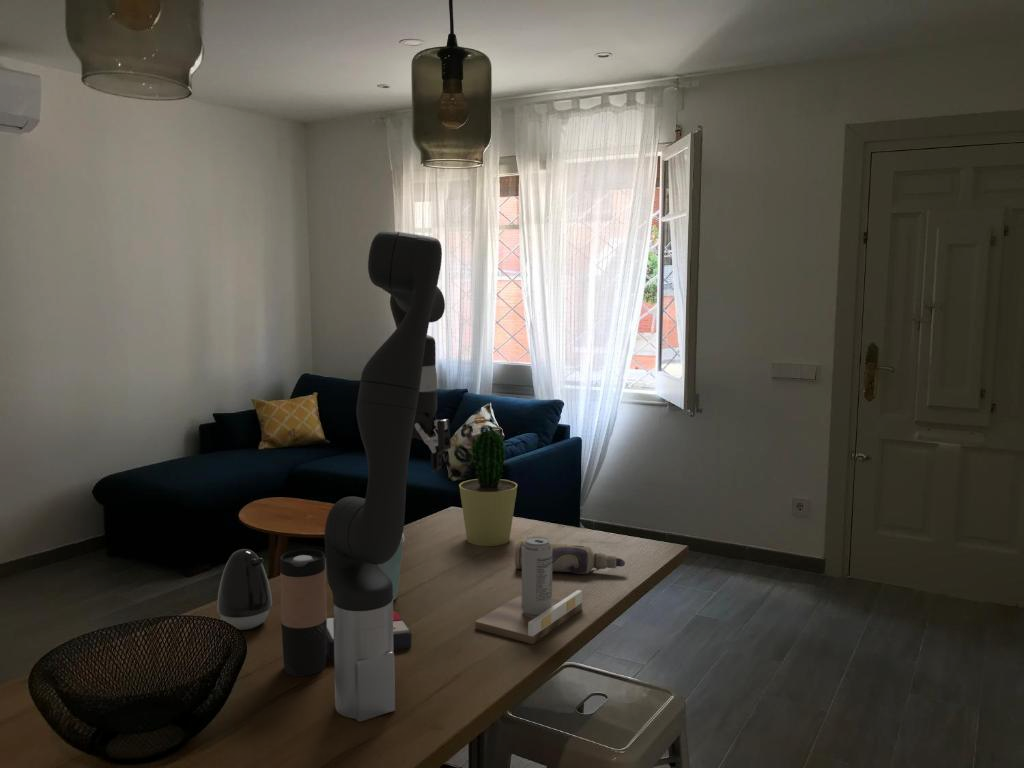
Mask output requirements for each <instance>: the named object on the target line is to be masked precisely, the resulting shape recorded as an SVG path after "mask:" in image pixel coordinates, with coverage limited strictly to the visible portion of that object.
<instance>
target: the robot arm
mask: <svg viewBox="0 0 1024 768" xmlns="http://www.w3.org/2000/svg"><path fill="white" fill-rule="evenodd" d="M370 244H371V245H370V247H369V251H368V252H369V254H368V258H367V259H368V261H367V272H368V277H369V279H370V281H371V283H372V285H374V286H375V287H378V288H380V289H382V290H383V291H385V292H386V293H388V294H389V295H390V299H389V307H390V311H391V315H392V317H393V320H394V323H395V327H396V329H395V330H394V331H393V333H391V335H389V336H388V338H387V340H385V342H384V343H382V345H381V346H380V347H379V348H378V349H377V350H376V351H375V353H373V355H372V356H371V357H370V358H369V360H368V361H366V362H367V363H366V364H365V365H364V368H363V369H362V372H361V375H360V382H359V388H358V394H357V401H356V411H355V412H356V420H357V426H358V430H359V434H360V438H361V441H362V444H363V447H364V450H365V454H366V459H367V469H368V476H367V477H368V478H367V485H366V494H365V498H363V497H359V496H346V497H343V498H340V499H339V500H337V501H336V502H335V503H334V504H333V506H331V508H330V510H329V512H328V514H327V517H326V520H325V526H324V552H325V553H324V555H325V569H326V577H327V583H328V585H329V588H330V591H331V593H332V604H333V605H332V607H333V608H332V609H333V610H332V612H333V613H332V614H333V615H332V616H333V617H332V618H333V619H334V620H333V624H334V660H333V664H334V667H333V668H334V671H333V673H334V674H333V675H334V703H335V705H334V707H335V710H336V712H337V713H338V714H339V715H341V716H342V717H343V716H344V717H346V718H350V719H355V720H356V721H357V722H363V721H366V720H369V719H372V718H375V717H379V716H382V715H384V714H389V713H392V712H394V711H395V710H396V689H395V686H396V685H395V684H396V683H395V680H396V677H395V673H396V672H395V670H396V669H395V667H396V666H395V665H396V664H395V653H394V650H393V611H394V600H393V585H392V582H391V580H390V579H389V578H388V576H387V575H385V574H384V573H383V571H382V570H381V569H380V568H379V566H378V565H377V564H383V563H385V562H387V561H389V560H390V559H391V558H392V557H393V556H394V554H395V553H396V551H397V549H398V547H399V545H400V542H401V538H402V534H403V533H404V528H405V527H404V526H405V517H406V516H405V515H406V502H407V501H406V498H407V484H408V483H407V480H408V468H409V459H410V455H411V444H412V439H416V440H420V441H423V443H424V444H425V445H427V446H428V448H429V450H430V451H431V452H430V471H431V472H434V473H435V472H439V471H440V470H441V468H442V466H443V452H444V451H447V450H450V449H451V448H452V445H451V444H452V443H451V425H450V423H451V422H450V419H448V418H444V419H437V417H436V413H437V411H438V375H437V366H436V364H437V363H436V359H437V358H436V352H437V351H436V340H435V337H433V336H431V335H429V334H428V331H429V326H430V323H435V322H438V321H440V319H441V318H442V317H443V316H444V313H445V309H446V301H445V296H444V295H443V292H442V291H441V289H440V287H438V283H439V278H440V273H441V267H442V257H443V251H442V250H443V249H442V248H443V247H442V245H441V244H442V243H441V242H440V240H439V239H438V238H437V237H434V236H428V235H424V234H417V233H416V234H415V233H410V232H404V231H396V230H384V231H383V230H382V231H380V232H377V234H376V235H375V236H374V237H373V239H372V241H371V243H370ZM436 430H437V431H436Z"/></svg>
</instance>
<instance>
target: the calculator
mask: <svg viewBox="0 0 1024 768" xmlns="http://www.w3.org/2000/svg"><path fill="white" fill-rule="evenodd" d="M333 620H334V619H333V617H327V635H326V656H327V658H328V659H329V661H334V624H333ZM412 637H413V634H412V632H411V630H410V629H409V627H408V625H406V623H405V622H404V620H403V619H402V617H400V615H399V614H398V612H397V611H395V610H393V651H397V650H402V649H409V648H412Z"/></svg>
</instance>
